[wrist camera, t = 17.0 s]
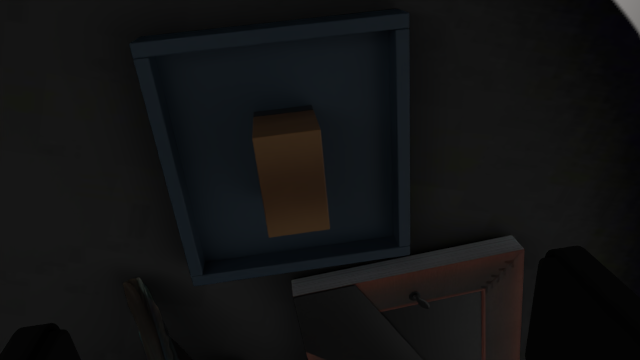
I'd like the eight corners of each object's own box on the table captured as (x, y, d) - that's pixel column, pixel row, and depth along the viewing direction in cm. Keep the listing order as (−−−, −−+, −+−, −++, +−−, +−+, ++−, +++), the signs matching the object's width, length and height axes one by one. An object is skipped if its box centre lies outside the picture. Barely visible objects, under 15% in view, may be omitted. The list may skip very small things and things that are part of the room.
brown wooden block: (253, 111, 27) (251, 138, 23) (312, 104, 27) (320, 129, 23) (267, 200, 30) (268, 238, 26) (321, 193, 30) (330, 229, 26)
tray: (138, 36, 25) (128, 43, 23) (398, 8, 26) (409, 12, 24) (197, 266, 32) (193, 287, 30) (401, 237, 33) (410, 255, 31)
